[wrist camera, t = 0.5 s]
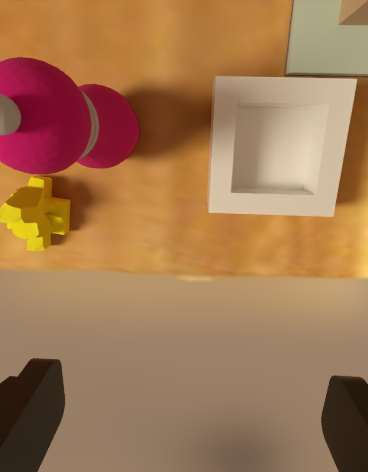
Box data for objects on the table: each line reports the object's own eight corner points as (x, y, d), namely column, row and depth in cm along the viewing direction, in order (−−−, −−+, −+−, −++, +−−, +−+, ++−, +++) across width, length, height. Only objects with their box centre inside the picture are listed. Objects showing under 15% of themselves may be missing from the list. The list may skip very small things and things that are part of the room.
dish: (212, 85, 31) (215, 75, 26) (334, 87, 30) (357, 78, 26) (206, 203, 34) (208, 212, 30) (315, 207, 34) (333, 216, 29)
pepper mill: (158, 130, 32) (105, 113, 13) (113, 179, 34) (5, 228, 15) (107, 76, 31) (-39, -33, 12) (62, 129, 32) (-130, 112, 13)
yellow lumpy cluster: (20, 240, 36) (-26, 265, 29) (19, 172, 34) (-31, 181, 26) (69, 247, 36) (36, 275, 29) (71, 180, 34) (37, 191, 27)
